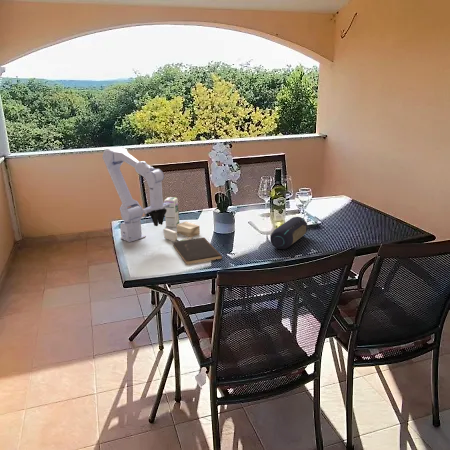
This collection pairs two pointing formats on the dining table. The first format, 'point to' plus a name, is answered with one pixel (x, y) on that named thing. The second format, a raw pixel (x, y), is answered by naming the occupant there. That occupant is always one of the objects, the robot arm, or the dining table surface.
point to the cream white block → (170, 235)
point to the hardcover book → (196, 250)
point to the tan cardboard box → (188, 230)
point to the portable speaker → (288, 233)
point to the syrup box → (172, 212)
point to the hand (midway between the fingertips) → (158, 224)
